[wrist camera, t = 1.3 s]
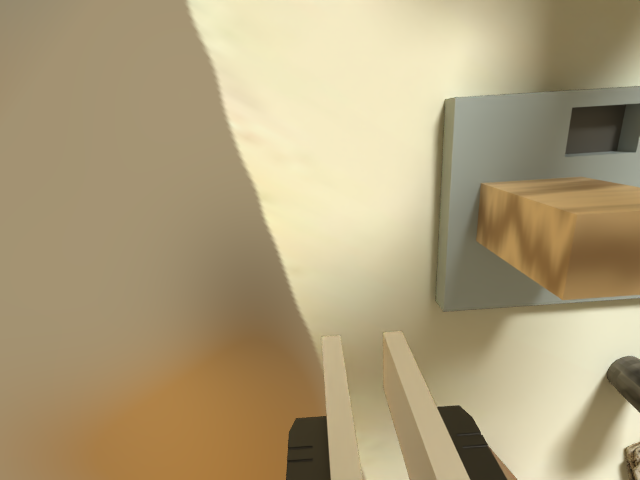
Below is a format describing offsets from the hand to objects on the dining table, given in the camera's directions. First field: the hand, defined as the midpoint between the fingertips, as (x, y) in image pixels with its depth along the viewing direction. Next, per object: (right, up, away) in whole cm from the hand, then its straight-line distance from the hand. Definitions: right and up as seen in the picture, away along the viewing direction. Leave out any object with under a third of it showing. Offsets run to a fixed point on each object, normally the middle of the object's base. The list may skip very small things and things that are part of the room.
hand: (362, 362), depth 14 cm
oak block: (+19, +8, +21) cm, 30 cm away
